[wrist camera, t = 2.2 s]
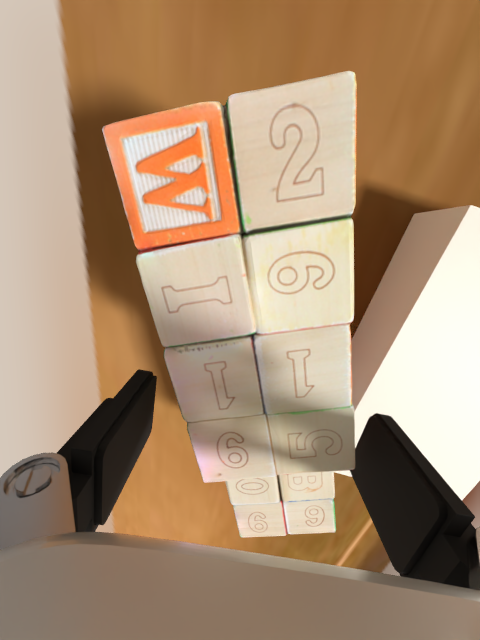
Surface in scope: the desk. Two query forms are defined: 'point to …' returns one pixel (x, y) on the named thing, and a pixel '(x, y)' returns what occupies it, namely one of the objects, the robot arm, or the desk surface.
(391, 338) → the block
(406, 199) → the desk surface
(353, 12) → the desk surface
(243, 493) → the stack of blocks
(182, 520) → the desk surface
